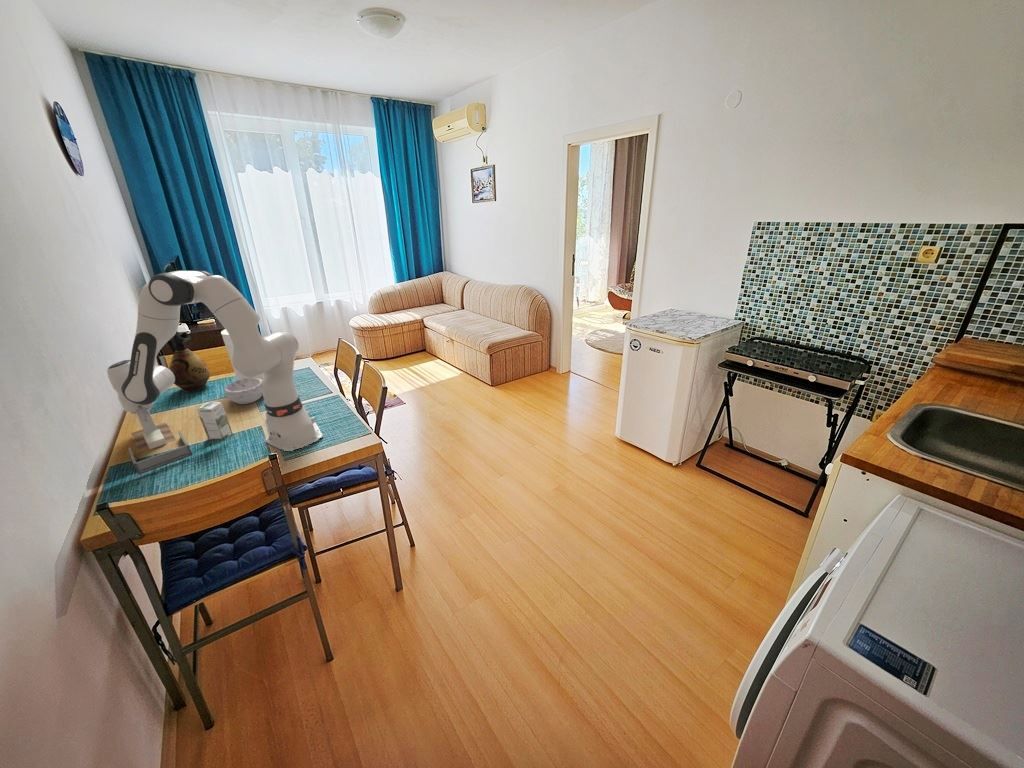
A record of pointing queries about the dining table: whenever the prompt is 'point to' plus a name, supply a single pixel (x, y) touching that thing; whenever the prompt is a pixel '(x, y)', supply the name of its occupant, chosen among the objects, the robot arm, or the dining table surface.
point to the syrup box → (214, 420)
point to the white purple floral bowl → (244, 390)
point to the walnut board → (142, 442)
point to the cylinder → (230, 351)
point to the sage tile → (152, 433)
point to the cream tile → (155, 441)
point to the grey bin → (162, 458)
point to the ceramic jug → (187, 365)
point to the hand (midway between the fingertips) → (152, 433)
